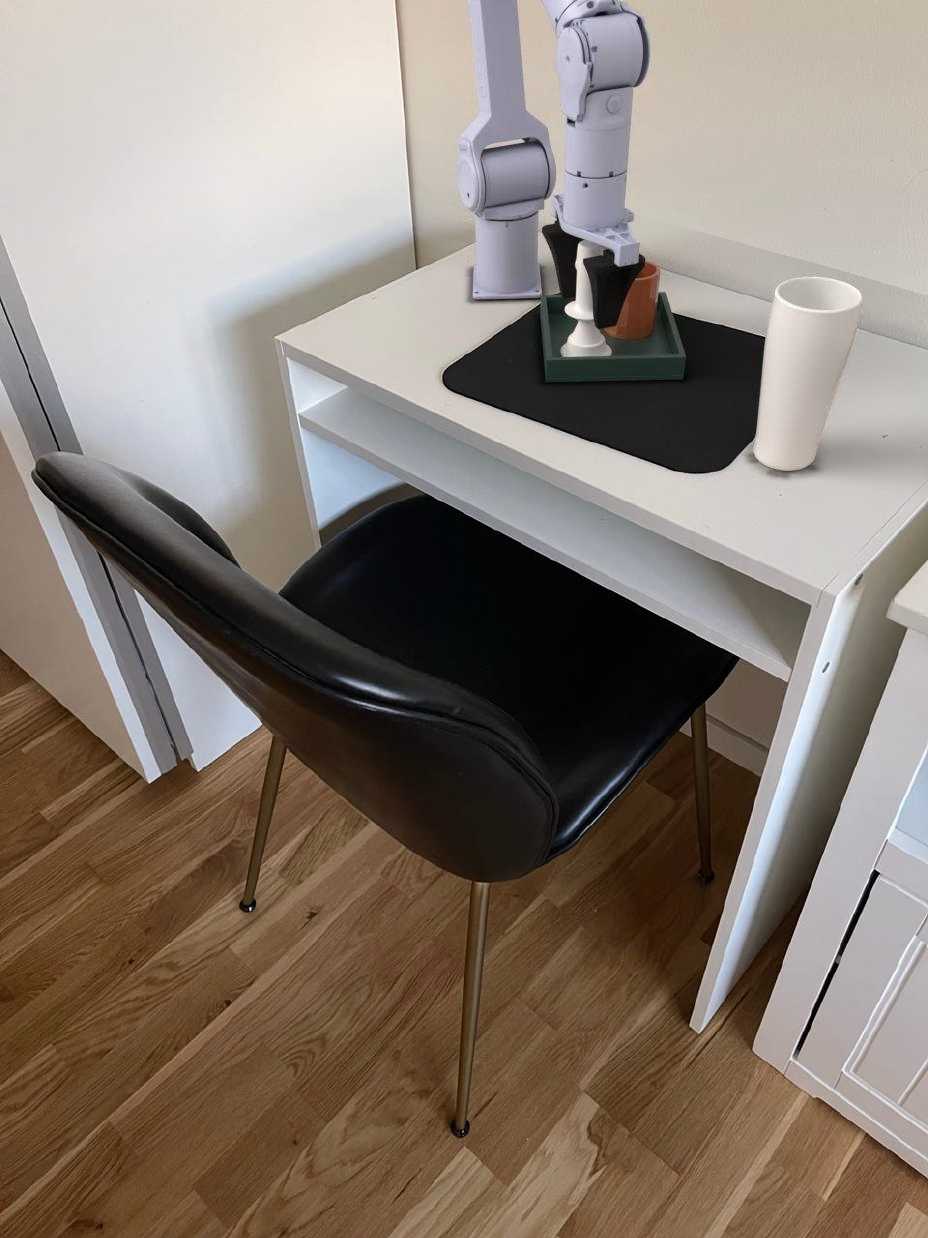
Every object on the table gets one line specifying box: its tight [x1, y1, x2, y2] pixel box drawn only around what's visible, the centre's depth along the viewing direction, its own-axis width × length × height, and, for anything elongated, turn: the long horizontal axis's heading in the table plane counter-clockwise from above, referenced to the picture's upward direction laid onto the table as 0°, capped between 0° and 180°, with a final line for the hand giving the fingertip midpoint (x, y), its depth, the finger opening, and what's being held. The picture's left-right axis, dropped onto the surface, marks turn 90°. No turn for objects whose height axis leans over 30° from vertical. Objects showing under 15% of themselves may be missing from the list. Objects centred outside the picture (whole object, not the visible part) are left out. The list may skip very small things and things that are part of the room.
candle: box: [560, 240, 612, 357], centre depth 96 cm, size 5×5×12 cm
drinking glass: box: [752, 276, 864, 472], centre depth 80 cm, size 7×7×15 cm
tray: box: [539, 291, 687, 383], centre depth 101 cm, size 15×14×2 cm
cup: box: [604, 260, 662, 340], centre depth 101 cm, size 5×5×6 cm
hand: (588, 310), depth 97 cm, fingers open, 7 cm apart
